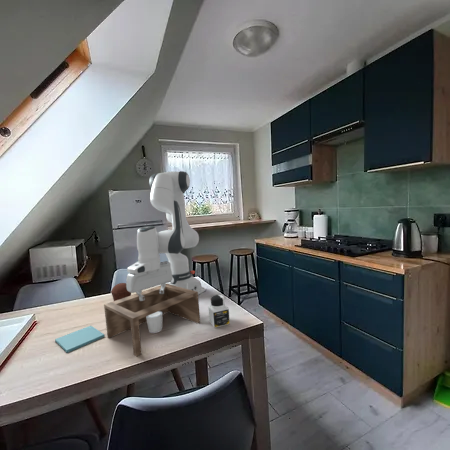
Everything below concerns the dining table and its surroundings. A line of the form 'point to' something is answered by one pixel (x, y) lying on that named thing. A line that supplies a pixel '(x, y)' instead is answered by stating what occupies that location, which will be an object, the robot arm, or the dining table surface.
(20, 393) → the dining table surface
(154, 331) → the shot glass
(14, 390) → the dining table surface
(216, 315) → the medicine bottle
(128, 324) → the box
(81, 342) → the mat
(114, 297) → the muffin
